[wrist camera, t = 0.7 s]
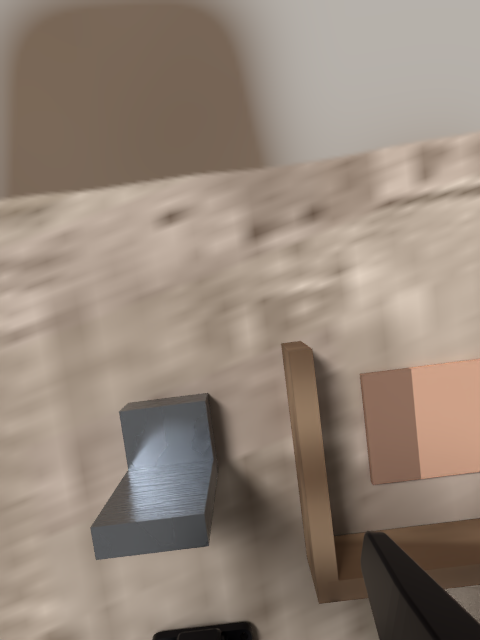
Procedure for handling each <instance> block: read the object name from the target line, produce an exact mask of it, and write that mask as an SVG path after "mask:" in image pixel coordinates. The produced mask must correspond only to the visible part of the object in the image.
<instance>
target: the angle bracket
mask: <svg viewBox="0 0 480 640" xmlns="http://www.w3.org/2000/svg"><path fill="white" fill-rule="evenodd" d="M119 414H120V420H121V426H122V433H123V439H124V445H125V451H126V458H127V464H128V471H127V473H126V474H125V476H124V477H123V479H122V480H121V482H120V483H119V485H118V486H117V488H116V489H115V491H114V492H113V494H112V496H111V497H110V499H109V500H108V502H107V503H106V505H105V506H104V508H103V509H102V511H101V512H100V514H99V515H98V517H97V518H96V520H95V521H94V523H93V525H92V526H91V534H92V540H93V546H94V552H95V557H96V560H99V559H108V558H116V557H124V556H132V555H140V554H148V553H157V552H165V551H173V550H181V549H189V548H197V547H205V546H209V541H210V533H211V525H212V517H213V509H214V501H215V493H216V485H217V477H218V463H217V456H216V448H215V441H214V434H213V427H212V420H211V412H210V405H209V398H208V393H203V394H196V395H188V396H180V397H172V398H164V399H156V400H148V401H140V402H132V403H128V404H127V405H126V406H125V407H124V408H123V409H121V410H120V411H119Z"/></svg>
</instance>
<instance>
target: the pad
mask: <svg viewBox="0 0 480 640" xmlns="http://www.w3.org/2000/svg"><path fill="white" fill-rule="evenodd" d="M360 379H361V389H362V399H363V408H364V418H365V428H366V437H367V447H368V457H369V466H370V476H371V482H372V484H373V485H376V484H384V483H392V482H400V481H408V480H416V479H425V478H433V477H441V476H449V475H457V474H465V473H474V472H480V359H474V360H467V361H459V362H451V363H443V364H435V365H427V366H419V367H411V368H403V369H395V370H387V371H380V372H372V373H364V374H360Z"/></svg>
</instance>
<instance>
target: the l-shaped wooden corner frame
mask: <svg viewBox="0 0 480 640" xmlns="http://www.w3.org/2000/svg"><path fill="white" fill-rule="evenodd" d="M281 346H282V354H283V362H284V371H285V379H286V387H287V395H288V404H289V412H290V420H291V429H292V437H293V445H294V453H295V462H296V470H297V478H298V487H299V495H300V503H301V511H302V520H303V528H304V536H305V545H306V553H307V559H308V563H309V567H310V571H311V574H312V578H313V582H314V586H315V590H316V594H317V598H318V602H319V604H321V603H330V602H338V601H346V600H355V599H363V598H369V597H368V594H367V590H366V586H365V582H364V578H363V575H362V570H361V553H362V545H363V538H364V534H365V532H364V533H355V534H347V535H339V536H333V527H332V518H331V510H330V501H329V492H328V483H327V474H326V466H325V457H324V448H323V439H322V430H321V422H320V413H319V404H318V395H317V387H316V378H315V369H314V360H313V351H312V349H311V348H310V347H308V346H307V345H306V344H304V343H303V342H301V341H298V342H290V343H282V344H281ZM380 531H382V532H384V533H386V534H387V535H388V536H389V537H390V538H391V539H392V540H393V541H394V542H395V543H396V544H397V545H399V546H400V547H401V548H402V549H403V550H404V551H405V552H406V553H407V554H408V555H409V556H410V557H411V558H412V559H413V560H414V561H415V562H416V563H417V564H418V565H419V566H420V567H421V568H422V569H423V570H424V571H426V572H427V573H428V574H429V575H430V576H431V577H432V578H433V579H434V580H435V581H436V582H437V583H438V584H439V585H440V586H441V587H442V588H443V589H447V588H456V587H464V586H473V585H480V518H479V519H471V520H463V521H454V522H446V523H438V524H430V525H421V526H413V527H405V528H397V529H388V530H380Z"/></svg>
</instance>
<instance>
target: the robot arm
mask: <svg viewBox="0 0 480 640" xmlns="http://www.w3.org/2000/svg"><path fill="white" fill-rule="evenodd" d="M361 570H362V575H363V578H364V582H365V586H366V590H367V594H368V597H369V601H370V605H371V609H372V612H373V616H374V620H375V624H376V628H377V631H378V635H379V639H380V640H480V624H479V623H478V622H477V621H476V620H475V619H474V618H473V617H472V616H471V615H470V614H469V613H468V612H467V611H466V610H465V609H464V608H463V607H462V606H461V605H460V604H459V603H458V602H457V601H456V600H455V599H454V598H452V597H451V596H450V595H449V594H448V593H447V592H446V591H445V590H444V589H443V588H442V587H441V586H440V585H439V584H438V583H437V582H436V581H435V580H434V579H433V578H432V577H431V576H430V575H429V574H428V573H427V572H426V571H424V570H423V569H422V568H421V567H420V566H419V565H418V564H417V563H416V562H415V561H414V560H413V559H412V558H411V557H410V556H409V555H408V554H407V553H406V552H405V551H404V550H403V549H402V548H401V547H400V546H399V545H397V544H396V543H395V542H394V541H393V540H392V539H391V538H390V537H389V536H388V535H387V534H386V533H384V532H382V531H366V532H365V534H364V538H363V545H362V553H361ZM152 640H253V635H252V628H251V626H250V625H249V624H248V623H244V622H242V623H234V624H226V625H217V626H209V627H200V628H192V629H183V630H175V631H166V632H159V633H156V634H155V635H154V636H153V639H152Z"/></svg>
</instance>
